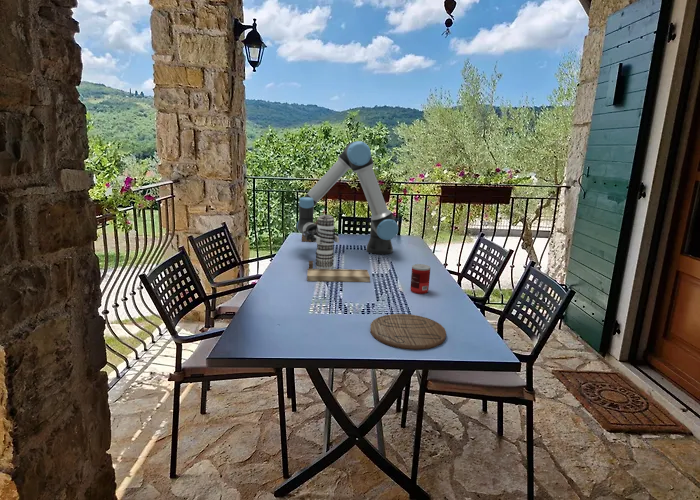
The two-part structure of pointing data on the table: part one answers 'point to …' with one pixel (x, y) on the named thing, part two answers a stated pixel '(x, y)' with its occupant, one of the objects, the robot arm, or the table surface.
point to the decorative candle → (325, 242)
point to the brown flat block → (310, 264)
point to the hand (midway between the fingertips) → (328, 240)
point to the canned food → (420, 278)
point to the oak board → (338, 275)
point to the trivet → (408, 331)
